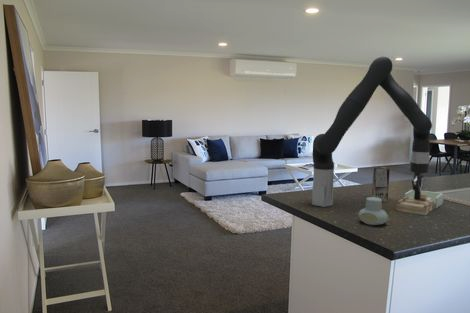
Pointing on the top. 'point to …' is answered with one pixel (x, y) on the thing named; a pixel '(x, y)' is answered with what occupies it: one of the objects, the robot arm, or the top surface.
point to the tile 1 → (423, 198)
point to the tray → (433, 195)
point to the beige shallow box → (415, 206)
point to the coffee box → (380, 183)
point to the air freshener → (373, 212)
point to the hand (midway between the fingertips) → (417, 199)
